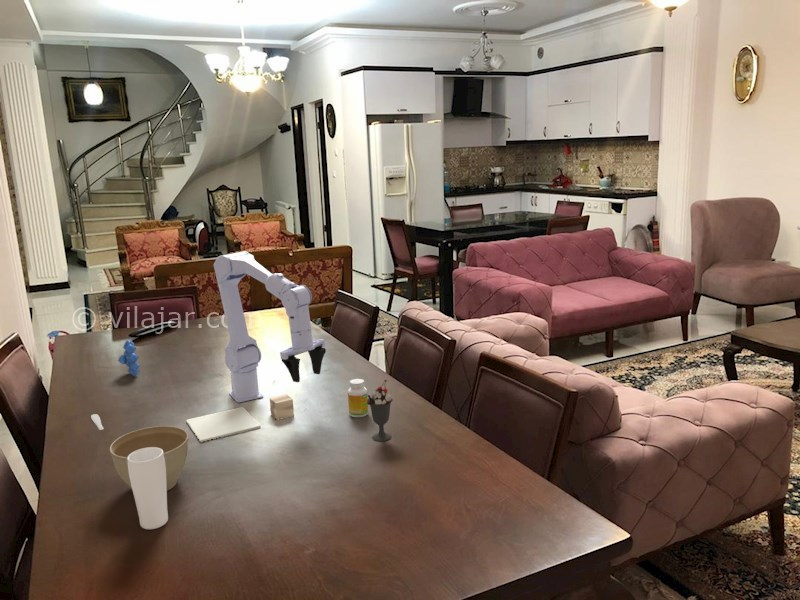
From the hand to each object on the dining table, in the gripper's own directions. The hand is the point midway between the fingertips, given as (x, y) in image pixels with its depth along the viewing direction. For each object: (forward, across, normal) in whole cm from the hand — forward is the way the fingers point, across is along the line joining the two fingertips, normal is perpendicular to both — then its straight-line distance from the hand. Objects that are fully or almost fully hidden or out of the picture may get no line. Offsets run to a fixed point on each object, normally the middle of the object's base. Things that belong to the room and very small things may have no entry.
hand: (306, 377), depth 179 cm
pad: (+9, -20, +14) cm, 26 cm away
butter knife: (+8, -41, +38) cm, 57 cm away
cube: (+10, -6, +6) cm, 13 cm away
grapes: (+5, -14, +76) cm, 78 cm away
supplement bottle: (+12, +8, -11) cm, 18 cm away
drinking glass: (+12, -57, -17) cm, 60 cm away
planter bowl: (+11, -49, -2) cm, 50 cm away
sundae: (+13, 0, -26) cm, 29 cm away
